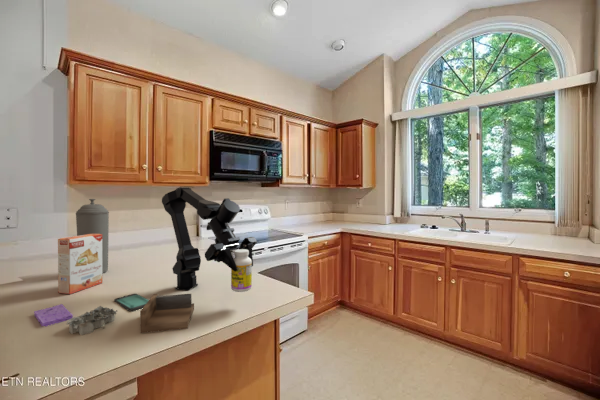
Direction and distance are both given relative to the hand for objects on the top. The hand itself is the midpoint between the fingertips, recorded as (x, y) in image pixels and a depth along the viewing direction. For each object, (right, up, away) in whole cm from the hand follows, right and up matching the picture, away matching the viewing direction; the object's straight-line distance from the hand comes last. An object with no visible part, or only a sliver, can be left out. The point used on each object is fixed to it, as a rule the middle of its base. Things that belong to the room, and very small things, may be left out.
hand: (244, 268), depth 92 cm
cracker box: (-69, -13, +20) cm, 72 cm away
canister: (-79, -12, +41) cm, 90 cm away
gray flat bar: (-21, -11, -4) cm, 24 cm away
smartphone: (-39, -14, +5) cm, 42 cm away
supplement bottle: (-1, -7, +1) cm, 7 cm away
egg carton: (-41, -14, -11) cm, 45 cm away
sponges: (-58, -14, -6) cm, 60 cm away
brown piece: (-21, -14, -8) cm, 26 cm away
